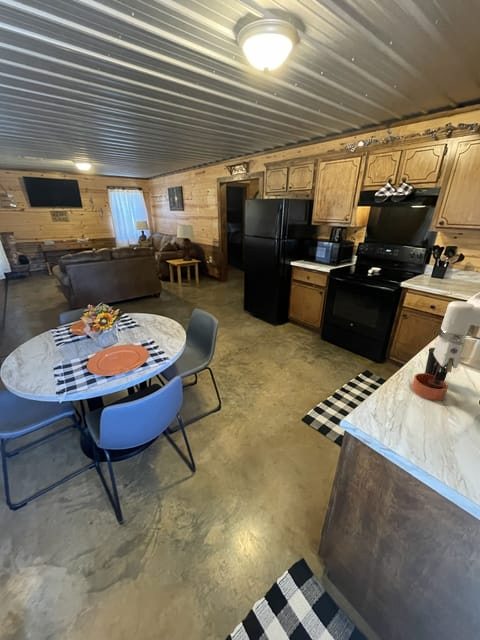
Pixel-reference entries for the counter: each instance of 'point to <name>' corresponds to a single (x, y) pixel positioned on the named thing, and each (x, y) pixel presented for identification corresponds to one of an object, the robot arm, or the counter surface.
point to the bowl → (426, 392)
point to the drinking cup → (430, 362)
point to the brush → (435, 382)
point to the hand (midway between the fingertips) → (437, 377)
